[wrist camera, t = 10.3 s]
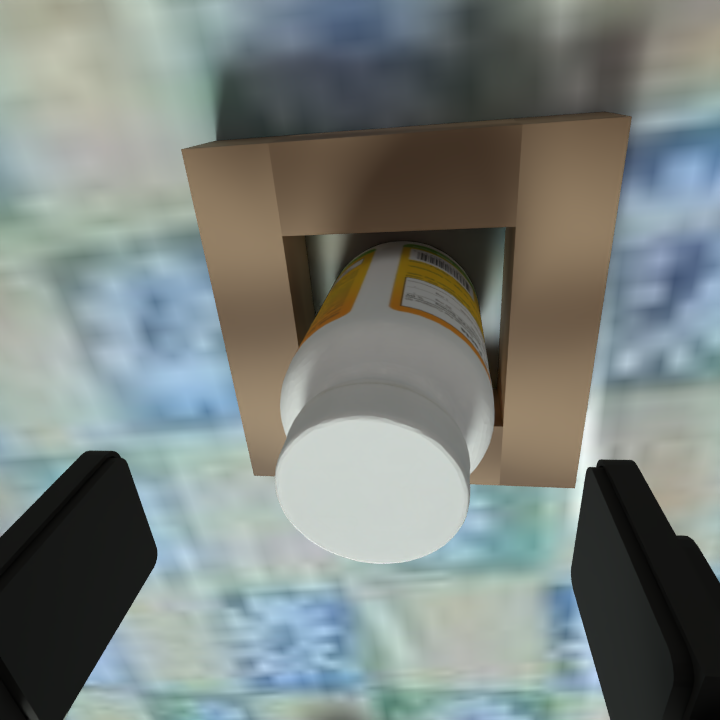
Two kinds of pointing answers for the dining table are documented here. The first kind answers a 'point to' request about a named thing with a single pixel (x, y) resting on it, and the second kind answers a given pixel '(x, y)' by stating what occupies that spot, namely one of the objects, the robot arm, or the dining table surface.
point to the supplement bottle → (387, 408)
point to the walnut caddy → (415, 213)
